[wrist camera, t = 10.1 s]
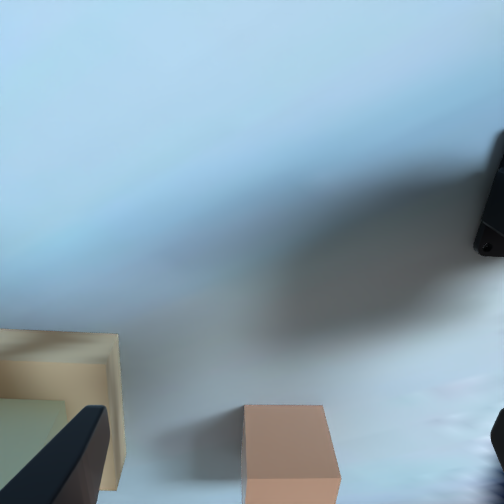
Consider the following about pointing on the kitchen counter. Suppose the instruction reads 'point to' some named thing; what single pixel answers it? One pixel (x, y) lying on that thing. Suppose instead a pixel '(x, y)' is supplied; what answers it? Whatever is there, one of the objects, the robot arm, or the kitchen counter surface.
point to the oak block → (68, 379)
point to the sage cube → (26, 431)
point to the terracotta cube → (287, 456)
